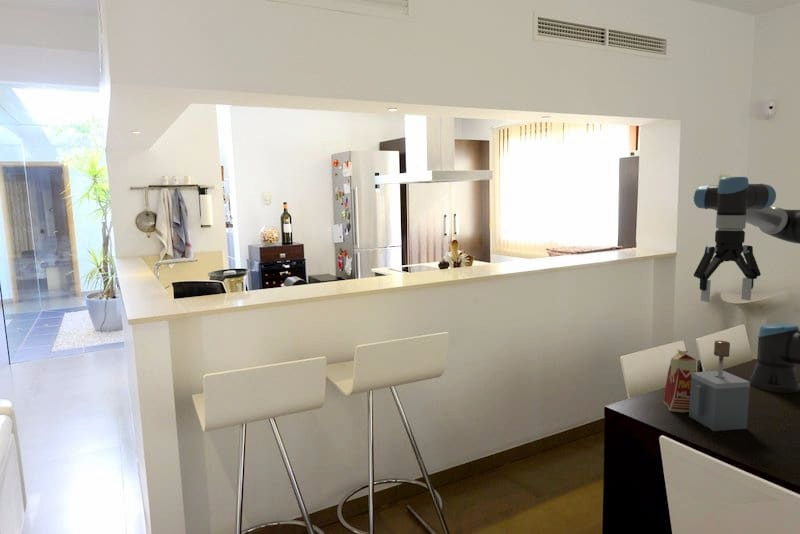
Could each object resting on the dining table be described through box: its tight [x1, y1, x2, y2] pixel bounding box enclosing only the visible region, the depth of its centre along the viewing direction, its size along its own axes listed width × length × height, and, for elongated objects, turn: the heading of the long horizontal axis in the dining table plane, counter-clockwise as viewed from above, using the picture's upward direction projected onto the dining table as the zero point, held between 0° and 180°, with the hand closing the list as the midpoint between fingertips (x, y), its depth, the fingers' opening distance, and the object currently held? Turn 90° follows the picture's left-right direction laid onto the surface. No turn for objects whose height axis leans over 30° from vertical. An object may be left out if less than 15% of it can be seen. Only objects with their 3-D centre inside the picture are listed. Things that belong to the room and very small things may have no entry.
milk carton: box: [663, 349, 697, 413], centre depth 181 cm, size 9×9×20 cm
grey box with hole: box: [688, 370, 751, 432], centre depth 168 cm, size 13×11×14 cm
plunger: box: [713, 340, 731, 378], centre depth 168 cm, size 8×8×24 cm
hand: (725, 300), depth 165 cm, fingers open, 13 cm apart
